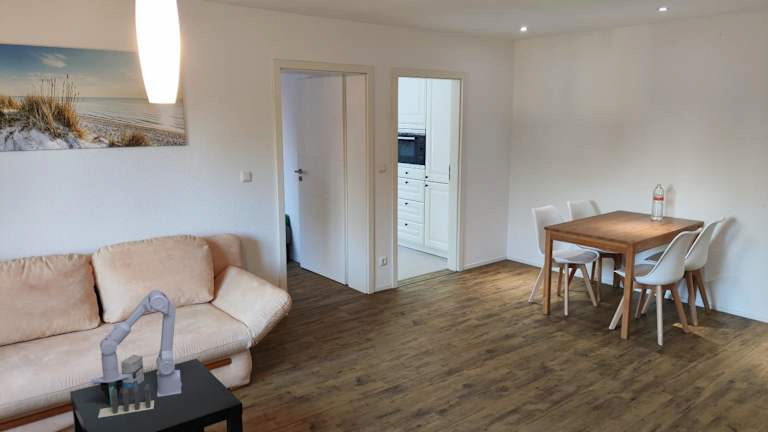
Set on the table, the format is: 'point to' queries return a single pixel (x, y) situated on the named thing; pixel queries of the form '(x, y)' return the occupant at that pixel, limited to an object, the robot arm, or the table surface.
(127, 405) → the tile
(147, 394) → the tile
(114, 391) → the tile
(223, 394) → the table surface
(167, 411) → the table surface
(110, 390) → the tile teal
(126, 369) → the ink box
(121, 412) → the mat
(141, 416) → the table surface
